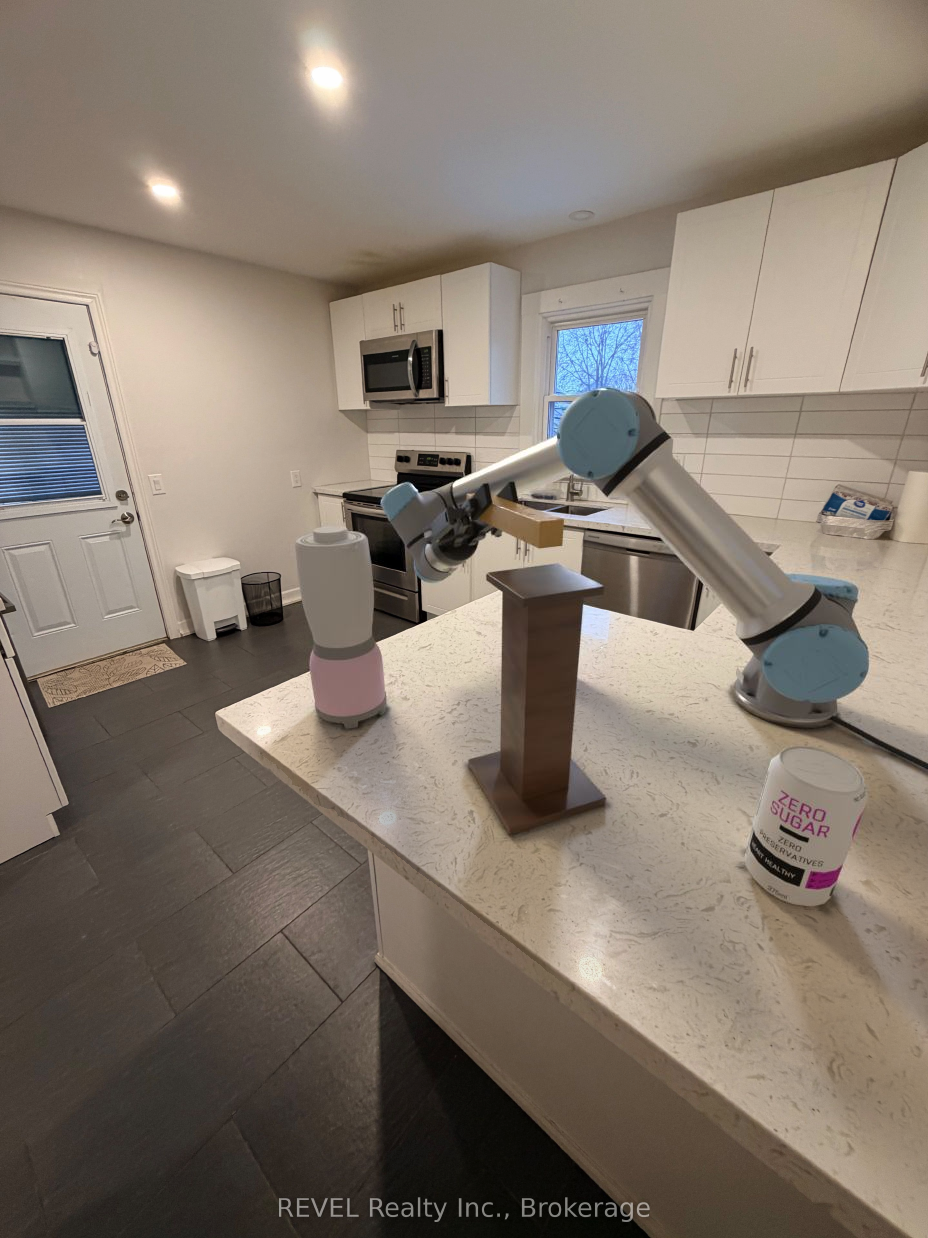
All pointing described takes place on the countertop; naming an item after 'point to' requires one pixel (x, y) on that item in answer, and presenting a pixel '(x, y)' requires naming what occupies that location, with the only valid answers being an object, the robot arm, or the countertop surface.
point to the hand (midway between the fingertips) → (500, 492)
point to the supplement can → (805, 824)
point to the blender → (341, 624)
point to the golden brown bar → (524, 522)
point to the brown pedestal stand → (538, 699)
